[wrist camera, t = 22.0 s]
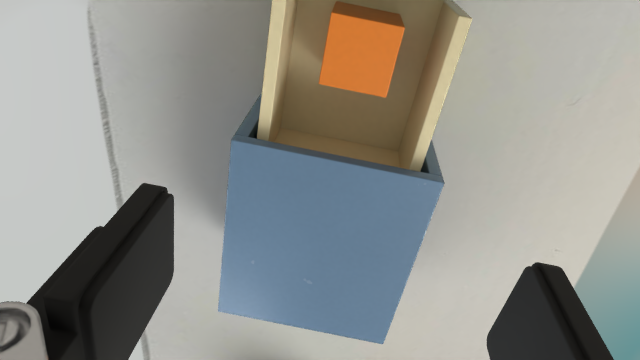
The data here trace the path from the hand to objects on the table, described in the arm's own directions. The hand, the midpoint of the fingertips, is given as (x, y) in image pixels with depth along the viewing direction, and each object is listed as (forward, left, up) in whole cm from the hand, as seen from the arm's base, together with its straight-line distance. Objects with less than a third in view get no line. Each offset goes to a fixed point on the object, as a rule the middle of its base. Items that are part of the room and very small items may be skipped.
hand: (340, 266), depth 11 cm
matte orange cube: (-1, +1, -22) cm, 22 cm away
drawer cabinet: (+10, -8, -24) cm, 28 cm away
